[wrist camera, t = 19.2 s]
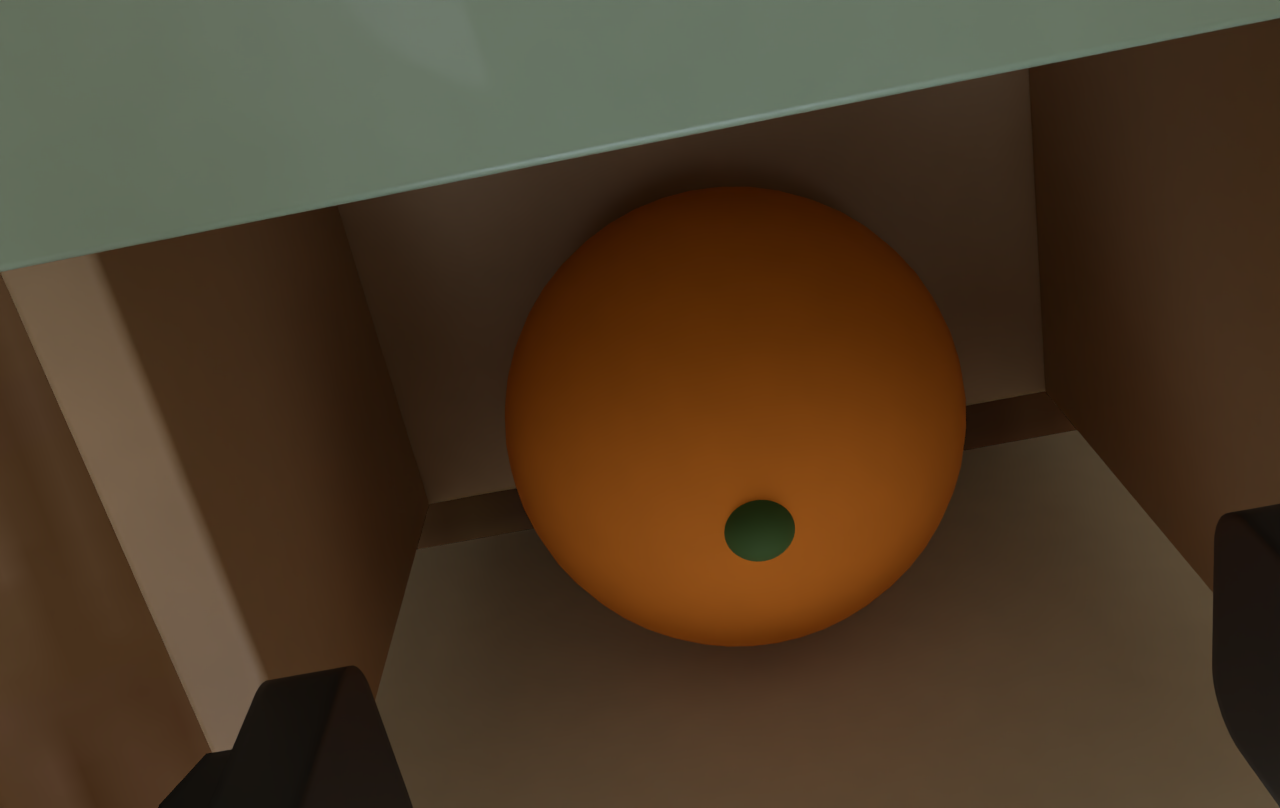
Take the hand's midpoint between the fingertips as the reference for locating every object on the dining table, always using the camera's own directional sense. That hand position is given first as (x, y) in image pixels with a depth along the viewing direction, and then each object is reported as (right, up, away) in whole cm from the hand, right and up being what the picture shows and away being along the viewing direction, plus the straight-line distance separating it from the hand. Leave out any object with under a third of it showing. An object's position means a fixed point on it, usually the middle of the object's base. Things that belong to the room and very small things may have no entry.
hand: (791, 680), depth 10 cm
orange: (0, +2, +5) cm, 5 cm away
